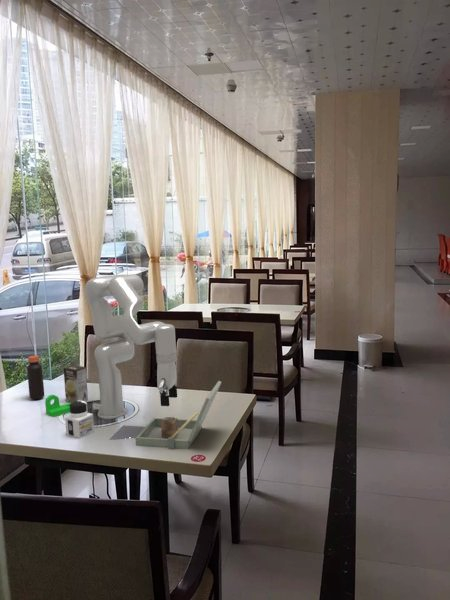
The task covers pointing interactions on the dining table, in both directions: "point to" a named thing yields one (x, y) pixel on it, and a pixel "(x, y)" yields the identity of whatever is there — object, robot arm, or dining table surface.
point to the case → (182, 423)
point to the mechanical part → (56, 406)
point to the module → (169, 427)
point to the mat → (127, 432)
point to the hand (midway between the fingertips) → (169, 401)
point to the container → (79, 420)
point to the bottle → (35, 378)
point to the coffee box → (75, 383)
